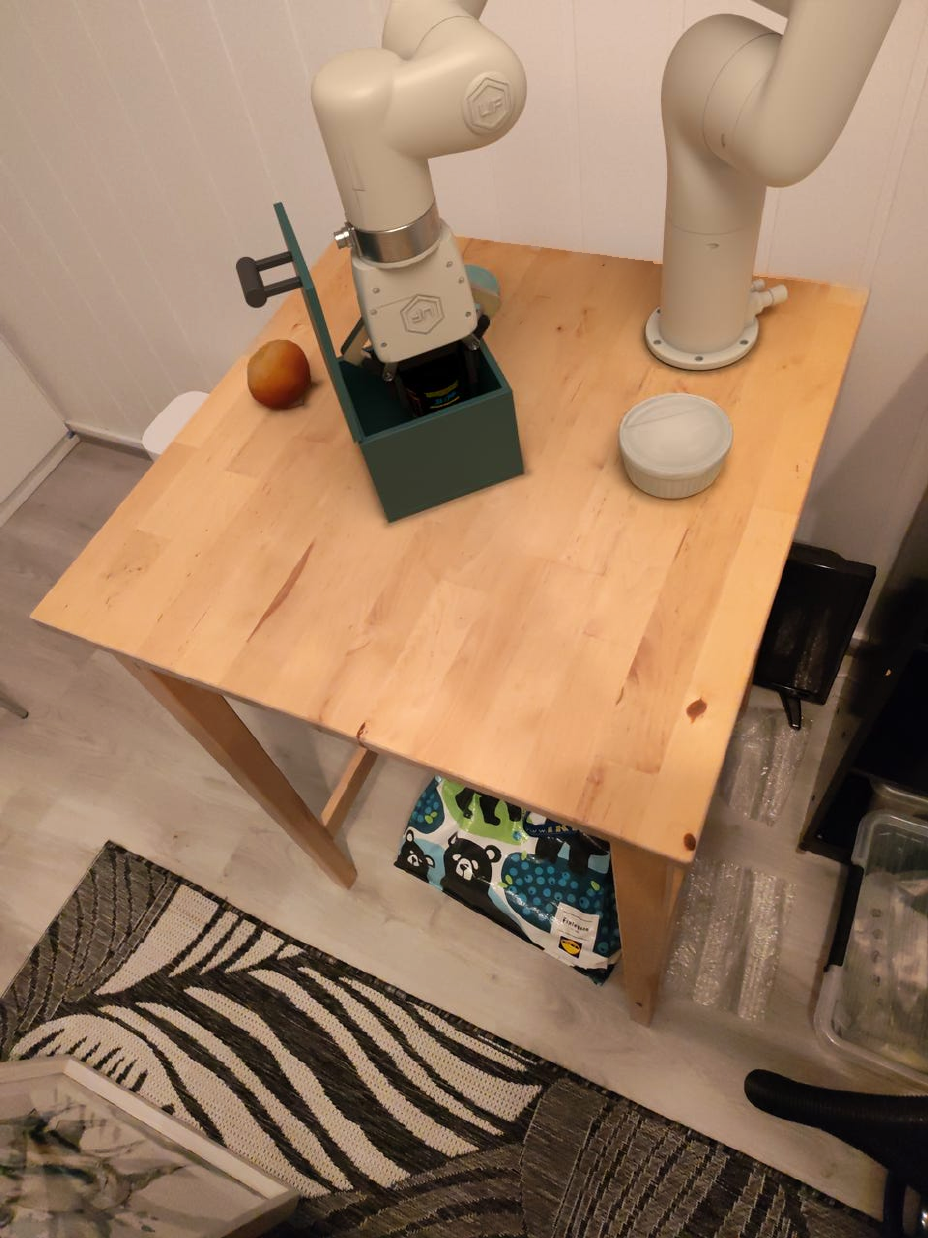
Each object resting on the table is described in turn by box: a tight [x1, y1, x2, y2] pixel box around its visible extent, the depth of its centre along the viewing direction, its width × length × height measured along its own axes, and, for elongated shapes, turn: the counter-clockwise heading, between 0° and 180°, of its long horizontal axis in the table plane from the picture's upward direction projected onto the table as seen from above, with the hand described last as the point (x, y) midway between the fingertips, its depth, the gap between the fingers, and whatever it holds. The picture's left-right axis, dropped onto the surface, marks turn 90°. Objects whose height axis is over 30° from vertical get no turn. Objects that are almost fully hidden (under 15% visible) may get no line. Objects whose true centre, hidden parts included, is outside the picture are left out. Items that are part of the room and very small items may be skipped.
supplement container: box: [397, 340, 472, 420], centre depth 83 cm, size 7×7×10 cm
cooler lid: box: [235, 201, 362, 444], centre depth 72 cm, size 16×14×6 cm
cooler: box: [336, 314, 525, 524], centre depth 85 cm, size 16×14×12 cm
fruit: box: [246, 339, 317, 410], centre depth 97 cm, size 8×8×8 cm
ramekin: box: [617, 392, 734, 500], centre depth 81 cm, size 11×11×5 cm
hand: (436, 387), depth 82 cm, fingers closed on supplement container, 6 cm apart
